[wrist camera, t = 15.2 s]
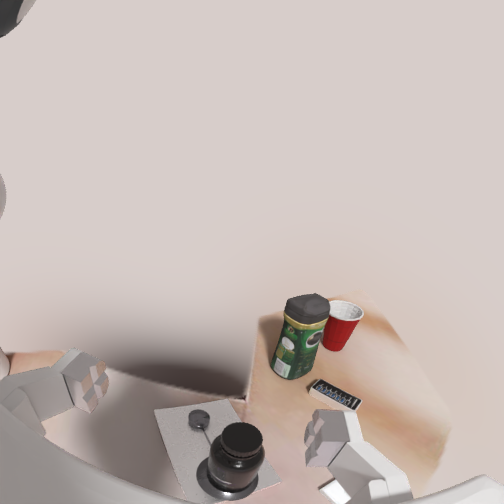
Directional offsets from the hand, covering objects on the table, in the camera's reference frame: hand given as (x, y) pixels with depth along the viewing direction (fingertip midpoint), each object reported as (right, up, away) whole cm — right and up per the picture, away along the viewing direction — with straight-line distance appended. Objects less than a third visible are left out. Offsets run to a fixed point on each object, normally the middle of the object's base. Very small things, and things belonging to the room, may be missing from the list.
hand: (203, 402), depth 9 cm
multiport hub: (+19, -26, +40) cm, 51 cm away
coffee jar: (+11, -22, +50) cm, 55 cm away
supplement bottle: (-1, -27, +20) cm, 34 cm away
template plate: (-5, -26, +25) cm, 36 cm away
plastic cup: (+24, -21, +61) cm, 69 cm away
